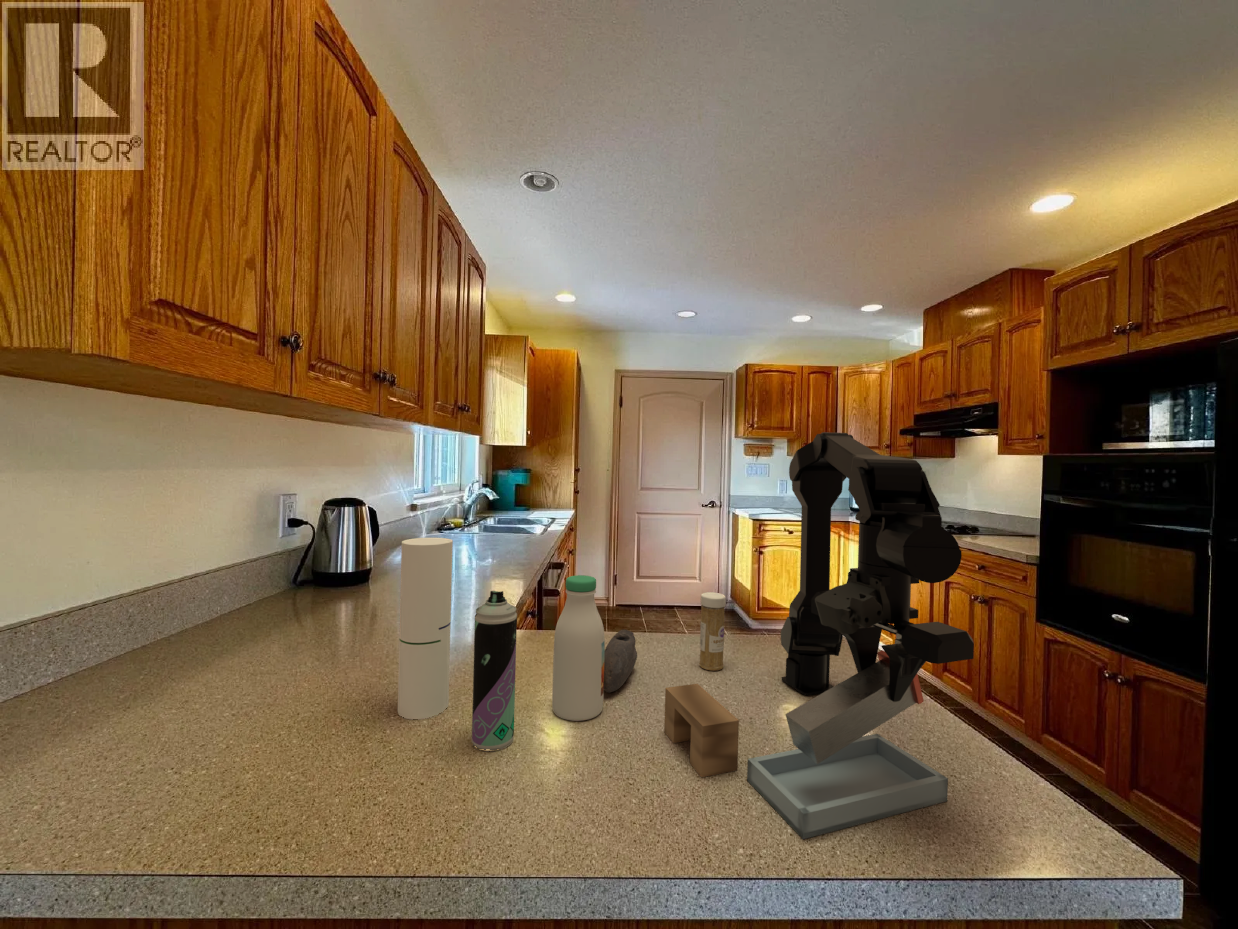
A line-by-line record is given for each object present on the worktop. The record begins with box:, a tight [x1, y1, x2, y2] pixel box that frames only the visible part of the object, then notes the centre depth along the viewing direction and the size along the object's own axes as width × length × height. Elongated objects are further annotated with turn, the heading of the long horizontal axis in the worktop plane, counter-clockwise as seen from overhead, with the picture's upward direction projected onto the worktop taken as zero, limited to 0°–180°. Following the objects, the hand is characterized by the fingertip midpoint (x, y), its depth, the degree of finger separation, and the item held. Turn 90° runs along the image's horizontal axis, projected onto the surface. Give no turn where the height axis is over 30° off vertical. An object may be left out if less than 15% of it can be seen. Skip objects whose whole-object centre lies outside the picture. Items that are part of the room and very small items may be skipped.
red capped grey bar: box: [784, 649, 925, 764], centre depth 60 cm, size 16×5×5 cm, turn 109°
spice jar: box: [698, 591, 727, 672], centre depth 95 cm, size 5×5×13 cm
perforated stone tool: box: [604, 629, 638, 693], centre depth 88 cm, size 15×5×7 cm, turn 165°
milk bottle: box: [551, 574, 606, 722], centre depth 78 cm, size 8×8×20 cm
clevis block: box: [663, 683, 740, 778], centre depth 68 cm, size 5×11×6 cm, turn 19°
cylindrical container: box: [397, 537, 454, 720], centre depth 77 cm, size 7×7×25 cm
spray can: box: [471, 590, 518, 750], centre depth 69 cm, size 6×6×20 cm
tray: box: [746, 733, 949, 840], centre depth 60 cm, size 20×10×3 cm, turn 109°
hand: (880, 692), depth 62 cm, fingers closed on red capped grey bar, 4 cm apart
